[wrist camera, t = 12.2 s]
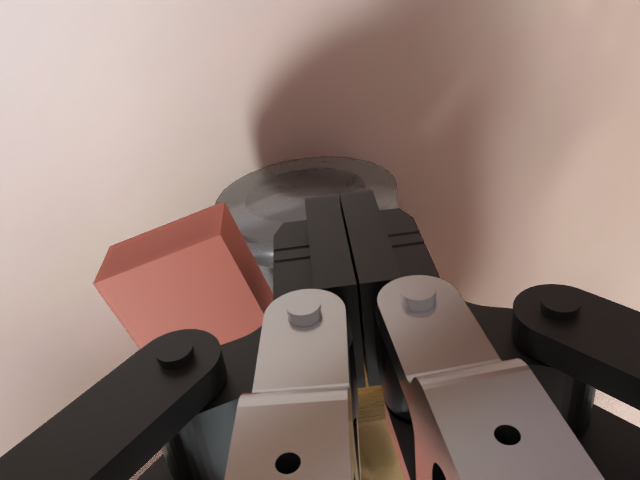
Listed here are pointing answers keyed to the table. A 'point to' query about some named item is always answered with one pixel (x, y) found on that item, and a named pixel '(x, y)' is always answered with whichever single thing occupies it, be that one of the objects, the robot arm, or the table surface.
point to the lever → (186, 279)
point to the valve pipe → (289, 205)
